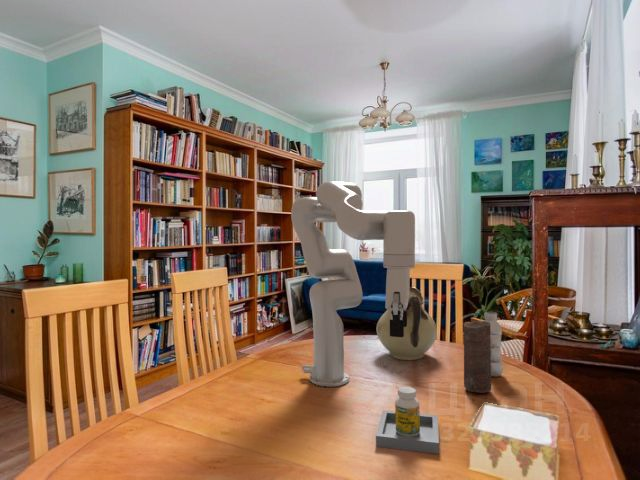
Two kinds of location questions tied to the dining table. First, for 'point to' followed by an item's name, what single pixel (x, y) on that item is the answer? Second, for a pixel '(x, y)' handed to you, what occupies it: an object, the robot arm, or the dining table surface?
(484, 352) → the candle
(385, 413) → the tray
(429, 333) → the pitcher
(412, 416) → the supplement bottle
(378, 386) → the dining table surface
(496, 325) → the plastic bottle
